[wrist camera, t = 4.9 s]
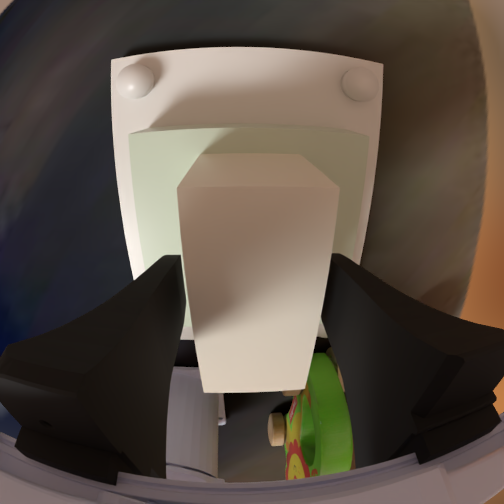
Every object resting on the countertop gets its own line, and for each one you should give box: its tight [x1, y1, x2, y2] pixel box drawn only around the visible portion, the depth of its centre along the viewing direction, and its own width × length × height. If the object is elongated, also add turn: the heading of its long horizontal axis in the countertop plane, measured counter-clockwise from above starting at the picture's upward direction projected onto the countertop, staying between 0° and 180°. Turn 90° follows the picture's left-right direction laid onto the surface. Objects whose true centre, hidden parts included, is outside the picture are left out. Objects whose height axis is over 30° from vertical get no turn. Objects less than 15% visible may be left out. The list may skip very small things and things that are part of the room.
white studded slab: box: [111, 47, 383, 340], centre depth 15 cm, size 18×14×4 cm
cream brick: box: [177, 153, 340, 393], centre depth 11 cm, size 8×4×5 cm, turn 179°
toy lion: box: [268, 347, 353, 480], centre depth 19 cm, size 16×5×15 cm, turn 178°
